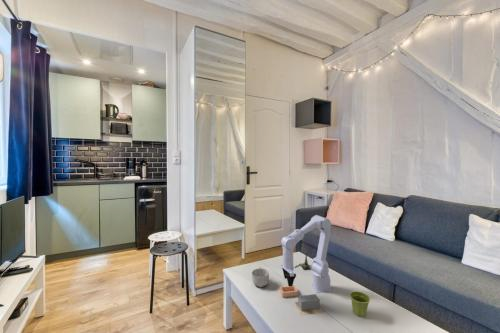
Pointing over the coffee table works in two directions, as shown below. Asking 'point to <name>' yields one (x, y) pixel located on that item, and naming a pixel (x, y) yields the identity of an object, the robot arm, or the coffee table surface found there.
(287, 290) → the peach slab
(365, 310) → the plant pot
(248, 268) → the coffee table surface
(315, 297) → the gray rectangular block
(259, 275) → the teacup
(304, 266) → the eiffel tower figurine
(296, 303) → the wooden board
